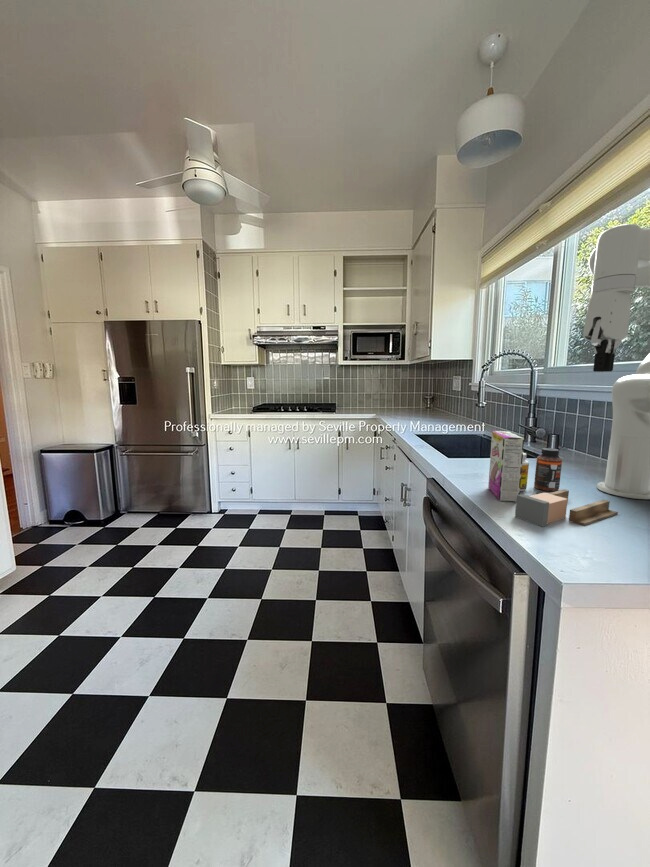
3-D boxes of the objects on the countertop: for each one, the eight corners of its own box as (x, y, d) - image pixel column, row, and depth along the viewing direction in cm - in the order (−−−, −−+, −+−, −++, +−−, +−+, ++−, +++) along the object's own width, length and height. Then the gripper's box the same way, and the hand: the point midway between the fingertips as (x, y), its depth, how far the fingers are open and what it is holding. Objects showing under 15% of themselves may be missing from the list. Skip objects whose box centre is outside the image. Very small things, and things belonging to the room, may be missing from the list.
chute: (555, 496, 91) (556, 487, 90) (617, 514, 79) (618, 503, 79) (522, 505, 84) (523, 495, 84) (584, 525, 72) (585, 514, 72)
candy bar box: (486, 488, 98) (491, 430, 95) (505, 489, 97) (510, 431, 94) (498, 501, 87) (503, 436, 84) (519, 503, 86) (525, 437, 84)
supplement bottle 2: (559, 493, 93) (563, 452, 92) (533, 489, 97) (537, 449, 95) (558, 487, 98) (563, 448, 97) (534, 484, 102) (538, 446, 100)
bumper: (519, 515, 78) (521, 494, 77) (546, 525, 73) (549, 502, 72) (514, 516, 77) (516, 495, 76) (542, 526, 72) (544, 503, 71)
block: (542, 511, 81) (544, 492, 81) (565, 518, 77) (567, 498, 76) (521, 517, 78) (522, 497, 77) (543, 525, 73) (545, 504, 73)
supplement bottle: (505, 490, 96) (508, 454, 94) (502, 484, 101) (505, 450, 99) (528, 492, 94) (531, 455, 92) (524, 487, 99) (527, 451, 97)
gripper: (609, 295, 84) (600, 372, 87) (575, 287, 78) (567, 371, 80) (649, 288, 78) (638, 371, 81) (616, 279, 71) (605, 370, 74)
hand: (602, 371), depth 80 cm, fingers closed
